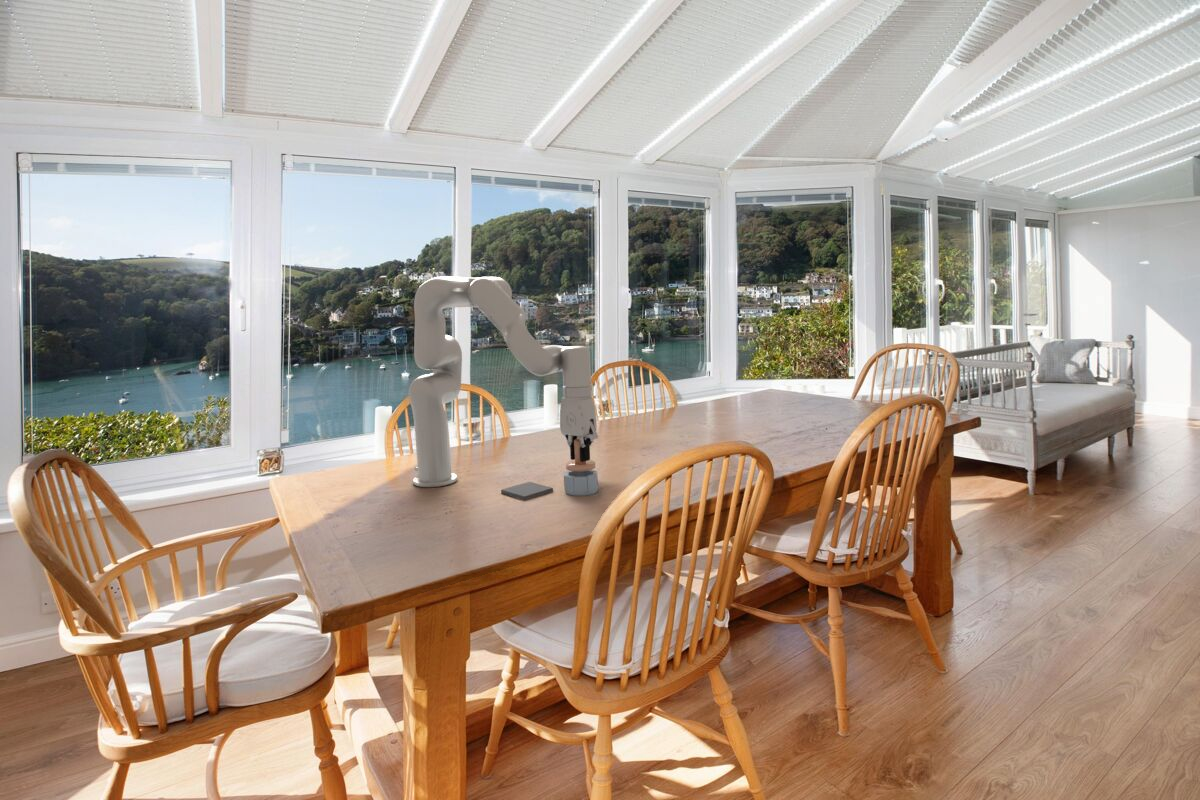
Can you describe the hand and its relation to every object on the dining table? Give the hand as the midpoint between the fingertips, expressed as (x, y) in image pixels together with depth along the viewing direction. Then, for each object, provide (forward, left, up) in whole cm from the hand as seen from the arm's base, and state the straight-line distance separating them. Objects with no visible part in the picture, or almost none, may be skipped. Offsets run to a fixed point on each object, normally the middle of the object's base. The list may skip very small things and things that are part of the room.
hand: (580, 459), depth 184 cm
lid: (0, 0, -2) cm, 2 cm away
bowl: (0, 0, -9) cm, 9 cm away
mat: (-11, -10, -9) cm, 17 cm away
